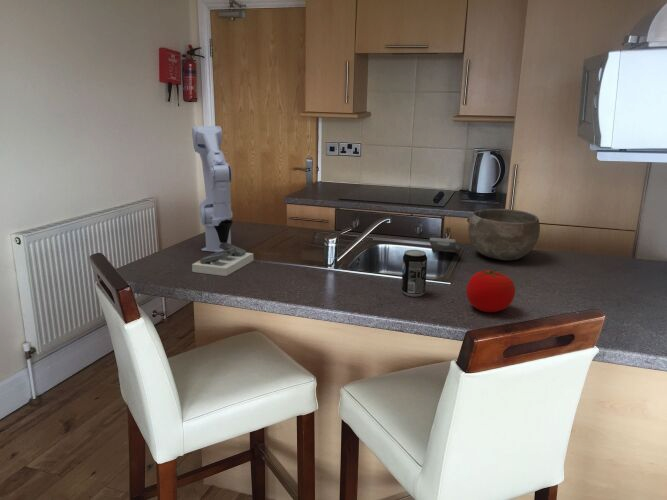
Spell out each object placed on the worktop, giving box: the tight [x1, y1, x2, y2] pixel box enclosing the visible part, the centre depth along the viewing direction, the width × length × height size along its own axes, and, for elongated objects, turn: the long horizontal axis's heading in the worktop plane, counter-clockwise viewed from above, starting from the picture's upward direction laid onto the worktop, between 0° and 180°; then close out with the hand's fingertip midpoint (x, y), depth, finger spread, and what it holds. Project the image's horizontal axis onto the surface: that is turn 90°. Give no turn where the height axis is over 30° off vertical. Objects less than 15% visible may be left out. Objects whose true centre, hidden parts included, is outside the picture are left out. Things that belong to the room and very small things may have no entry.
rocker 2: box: [208, 248, 236, 256], centre depth 177 cm, size 4×8×1 cm, turn 71°
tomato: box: [465, 270, 516, 313], centre depth 142 cm, size 11×12×10 cm
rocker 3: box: [219, 242, 247, 257], centre depth 182 cm, size 4×8×1 cm, turn 71°
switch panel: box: [191, 250, 254, 277], centre depth 178 cm, size 18×12×3 cm, turn 161°
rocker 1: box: [199, 252, 228, 263], centre depth 172 cm, size 4×8×1 cm, turn 71°
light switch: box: [429, 237, 457, 253], centre depth 191 cm, size 8×6×14 cm
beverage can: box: [401, 249, 428, 298], centre depth 153 cm, size 7×7×12 cm
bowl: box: [466, 208, 541, 262], centre depth 190 cm, size 24×24×15 cm
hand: (223, 242), depth 183 cm, fingers closed
